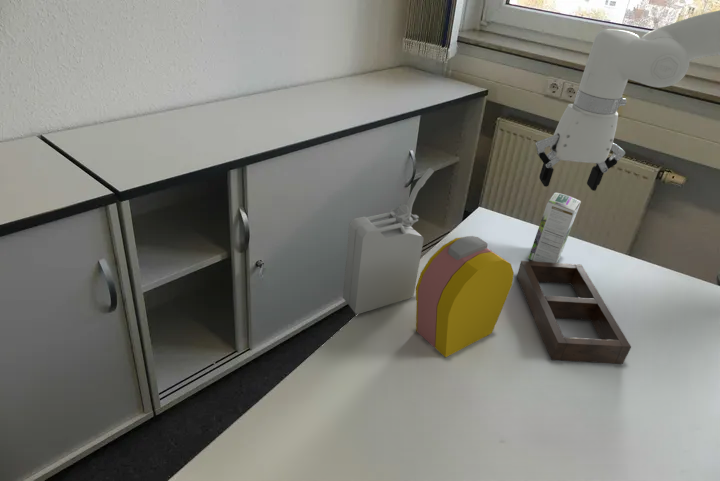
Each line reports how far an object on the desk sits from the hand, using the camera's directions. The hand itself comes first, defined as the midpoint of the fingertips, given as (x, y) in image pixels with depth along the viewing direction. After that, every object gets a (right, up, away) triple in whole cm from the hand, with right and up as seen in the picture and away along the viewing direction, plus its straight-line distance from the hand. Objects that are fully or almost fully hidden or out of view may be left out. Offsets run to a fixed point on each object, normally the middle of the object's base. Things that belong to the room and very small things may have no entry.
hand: (567, 185), depth 108 cm
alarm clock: (-25, -27, -12) cm, 39 cm away
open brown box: (-3, -25, -6) cm, 26 cm away
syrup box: (-1, -15, +10) cm, 18 cm away
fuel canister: (-37, -22, -6) cm, 43 cm away
